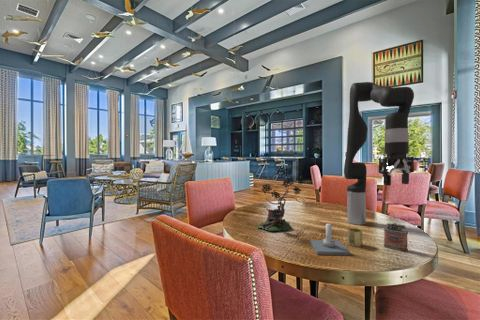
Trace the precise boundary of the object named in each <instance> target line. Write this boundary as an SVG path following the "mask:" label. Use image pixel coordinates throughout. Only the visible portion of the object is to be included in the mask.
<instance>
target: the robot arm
mask: <svg viewBox="0 0 480 320" xmlns="http://www.w3.org/2000/svg"><path fill="white" fill-rule="evenodd" d="M414 92H415V91H414V90H413V89H412V88H411V87H410V86H396V87H393V86H389V85H388V86H387V85H379V84H376V83H374V82H372V81H365V82H363V81H362V82H354V83H352V84H351V86H350V90H349V112H348V114H349V115H348V116H349V117H348V126H347V137H346V141H347V142H346V152H345V159H344V167H343V176H344V178H345V179H346V180H357V181H356V182H355V183H353V184H350V185H348V186H347V187H346V199H347V201H346V203H347V204H346V207H347V212H346V213H347V214H346V218H347V219H346V220H347V223H349V224H351V225H359V226H361V225H366V224H367V210H366V209H367V206H366V204H367V203H366V202H367V198H366V197H367V195H366V194H367V193H366V192H367V190H366V189H367V175H368V174H367V173H368V171H367V166H366V164H365V163H364V162H354V159H355V157H356V154H357V153H358V152H359V151H360V150H361V149H362V147H363V146H364V145H365V143H366V141H367V138H368V125H367V123H366V121H365V119H364V118H363V117H362V115H361V113H360V110H359V102H361V103H362V102H370V101H373V102H374V103H377V104H380V106H382V107H386V108H393V107H395V108H397V107H398V109H397V111H395V112H391V113H388V114H387V115H386V116H385V118H384V119H385V121H384V122H385V124H384V128H385V130H384V154H385V155H386V156H385V157H384V156H382V157H381V156H379V158H378V174H380V175H383V184H384V186H391V185H392V173H393V171H395V170H396V169H398V170H399V171H400V173H401V185H402V184H403V185H409V184H410V183H409V182H410V174H411V173H414V172H415V165H414V164H415V163H414V162H415V161H414V156H407V155H408V154H409V153H410V150H409V149H410V148H409V146H410V133H409V115H410V111H411V108H412V104H413V101H414V99H415V94H414Z"/></svg>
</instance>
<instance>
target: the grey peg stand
mask: <svg viewBox="0 0 480 320" xmlns="http://www.w3.org/2000/svg"><path fill="white" fill-rule="evenodd" d="M332 228H333V226H332V224H331V223H325V238H323V239H321V240H319V239H310V241H309V242H310V244H311V246H312V248H313V250H314V251H315V253H316V255H320V256H321V255H322V256H323V255H324V256H325V255H326V256H328V255H329V256H331V255H332V256H351V251H350V250H349V249H348V248H347V247H346V246H345V245H344V244H343V243H342V242H341V241H340V239H339V240H334V239H333V236H332V235H333V231H332V230H333V229H332Z"/></svg>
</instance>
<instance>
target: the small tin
mask: <svg viewBox="0 0 480 320" xmlns="http://www.w3.org/2000/svg"><path fill="white" fill-rule="evenodd" d="M406 229H407V227H406V225H404V224H398V223H396V222H394V223H390V222H387V223H386V227H383V233H384V235H383V237H384V240H383V241H384V242H383V247H384V248H386V249H390V250H391V251H397V252H403V253H408V252H409V249H408V234H409V233H408V232H409V231H407V230H406Z"/></svg>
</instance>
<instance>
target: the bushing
mask: <svg viewBox="0 0 480 320" xmlns="http://www.w3.org/2000/svg"><path fill="white" fill-rule="evenodd" d="M346 230H347V233H346V234H347V237H346V238H347V239H346V241H347V242H346V243H347V245H349V246H351V247H354V248H357V247H358V248H361V247H362V246H363V230H361V229H360V228H356V227H352V228H351V227H349V228H347V229H346Z"/></svg>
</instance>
